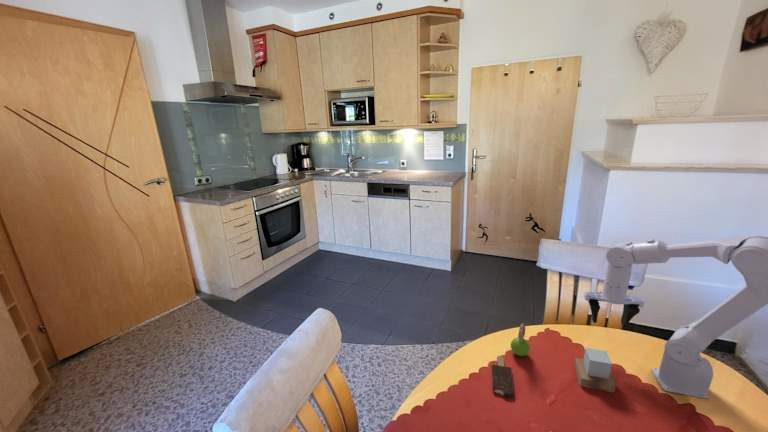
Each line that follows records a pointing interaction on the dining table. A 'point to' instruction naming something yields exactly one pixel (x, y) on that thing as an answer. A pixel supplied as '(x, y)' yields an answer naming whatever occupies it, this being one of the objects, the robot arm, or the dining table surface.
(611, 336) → the dining table surface
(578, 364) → the walnut block
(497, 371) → the ice cream bar
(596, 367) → the slate-blue cube
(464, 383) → the dining table surface
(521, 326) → the green candy apple
